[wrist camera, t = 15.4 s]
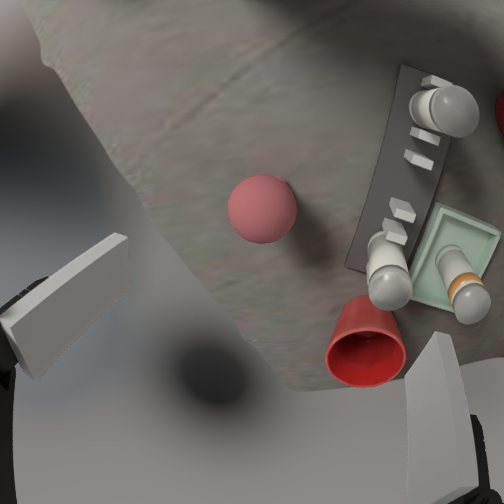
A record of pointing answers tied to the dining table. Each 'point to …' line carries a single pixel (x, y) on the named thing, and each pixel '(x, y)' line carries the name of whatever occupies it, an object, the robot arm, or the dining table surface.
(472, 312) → the cylinder
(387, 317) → the flower pot
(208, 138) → the dining table surface
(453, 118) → the white rounded cylinder
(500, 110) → the apple
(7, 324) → the robot arm
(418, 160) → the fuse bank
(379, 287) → the fuse
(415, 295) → the tray
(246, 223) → the light bulb
